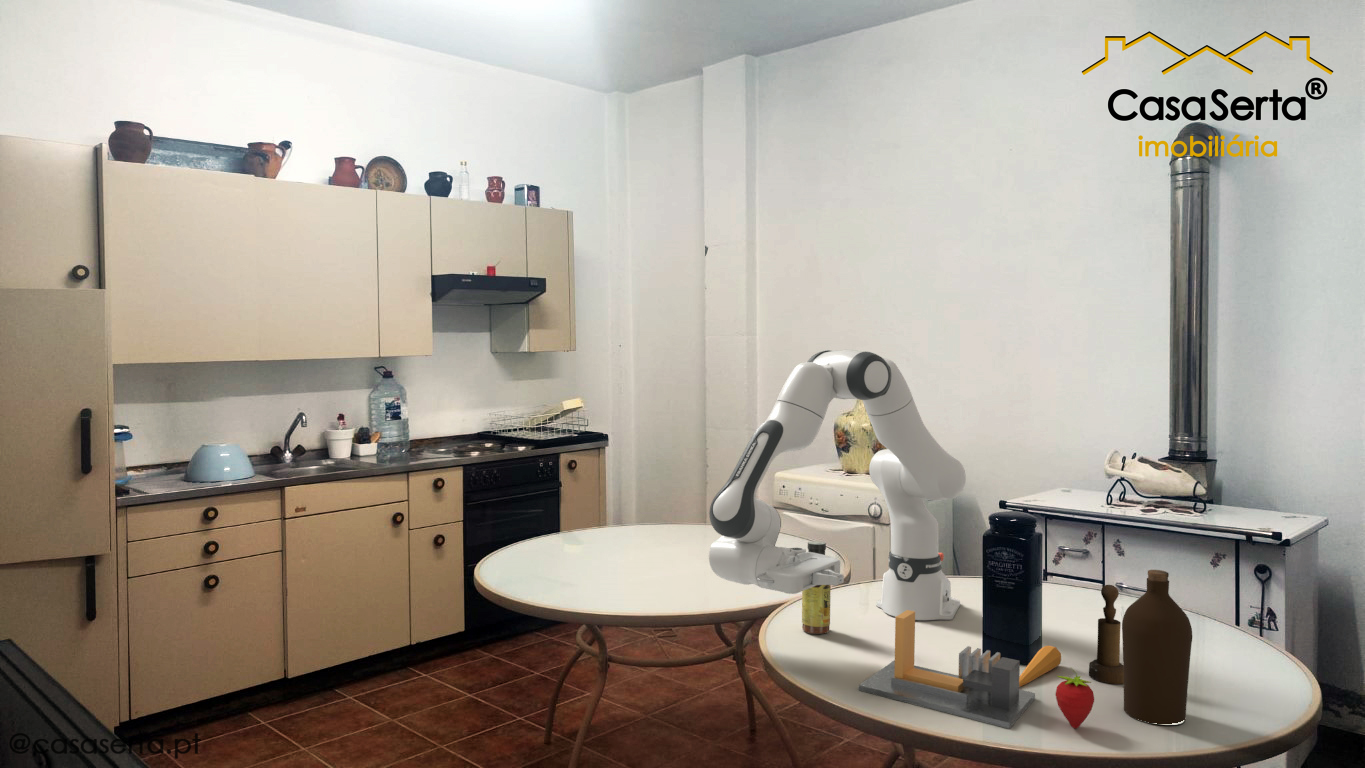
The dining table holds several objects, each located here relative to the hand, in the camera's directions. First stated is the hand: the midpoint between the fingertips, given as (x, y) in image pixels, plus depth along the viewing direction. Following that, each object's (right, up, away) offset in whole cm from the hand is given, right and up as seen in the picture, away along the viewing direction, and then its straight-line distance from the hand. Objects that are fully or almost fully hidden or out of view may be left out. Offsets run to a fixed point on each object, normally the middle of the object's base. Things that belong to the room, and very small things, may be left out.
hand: (840, 580), depth 171 cm
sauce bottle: (-1, -17, +24) cm, 30 cm away
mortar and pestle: (+51, -18, -3) cm, 54 cm away
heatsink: (+17, -18, -12) cm, 28 cm away
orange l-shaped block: (+15, -17, -10) cm, 24 cm away
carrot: (+36, -18, -2) cm, 41 cm away
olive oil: (+51, -19, -20) cm, 58 cm away
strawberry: (+34, -19, -26) cm, 47 cm away
